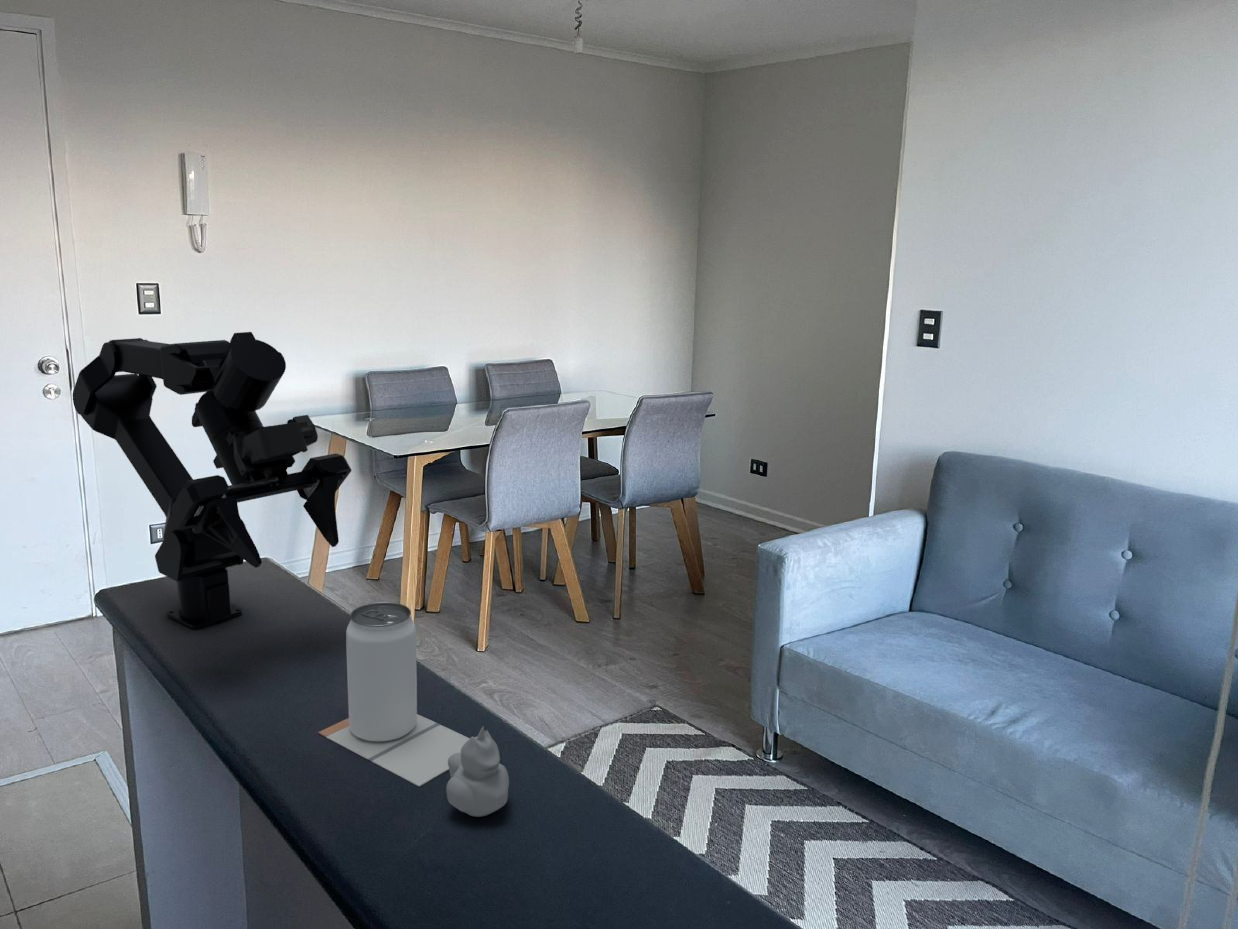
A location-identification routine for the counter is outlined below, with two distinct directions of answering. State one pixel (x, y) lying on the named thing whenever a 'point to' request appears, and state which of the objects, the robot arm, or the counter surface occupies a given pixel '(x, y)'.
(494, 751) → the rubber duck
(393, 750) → the distance mat
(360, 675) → the can
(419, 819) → the counter surface
